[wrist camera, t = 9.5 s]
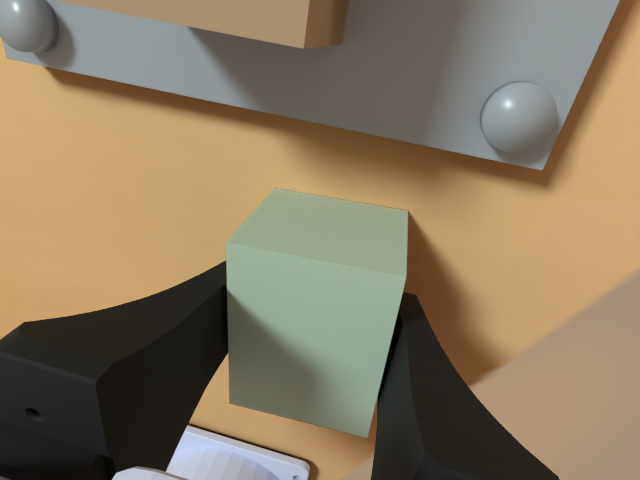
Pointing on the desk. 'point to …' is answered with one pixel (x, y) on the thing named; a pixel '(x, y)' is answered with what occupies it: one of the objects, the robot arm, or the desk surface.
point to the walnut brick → (245, 17)
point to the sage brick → (314, 307)
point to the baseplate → (354, 66)
